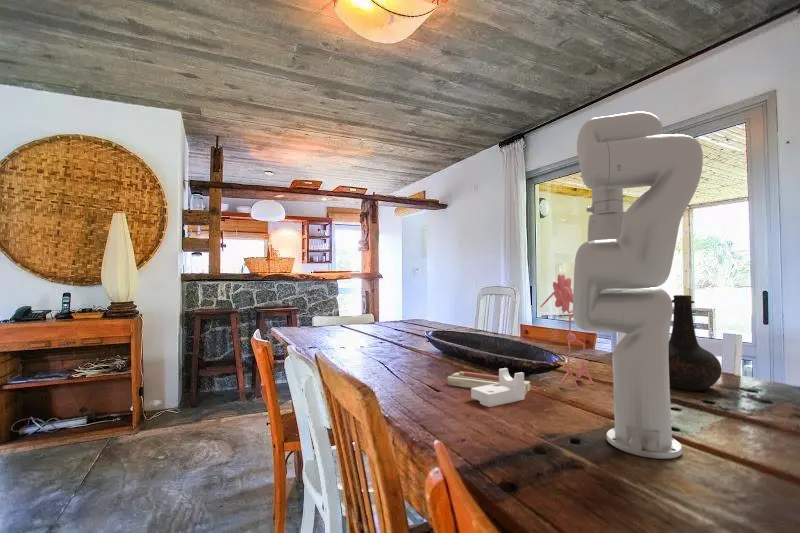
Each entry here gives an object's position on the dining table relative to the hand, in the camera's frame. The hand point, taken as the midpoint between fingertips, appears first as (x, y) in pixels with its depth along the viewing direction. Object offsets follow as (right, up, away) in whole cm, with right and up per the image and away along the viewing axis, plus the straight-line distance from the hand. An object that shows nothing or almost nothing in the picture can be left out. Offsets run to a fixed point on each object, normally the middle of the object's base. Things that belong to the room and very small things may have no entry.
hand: (609, 275), depth 105 cm
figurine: (-5, -35, +18) cm, 40 cm away
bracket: (-31, -35, +1) cm, 47 cm away
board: (-31, -35, +13) cm, 48 cm away
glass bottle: (+29, -35, +11) cm, 46 cm away
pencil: (-32, -33, +15) cm, 48 cm away
